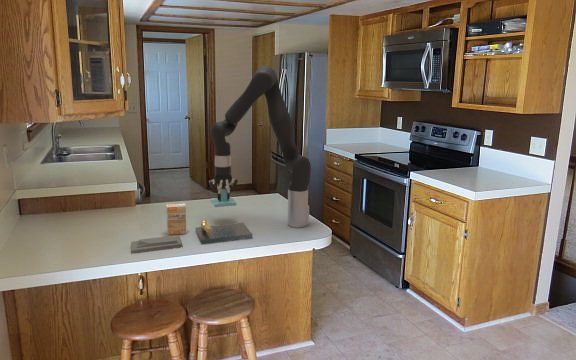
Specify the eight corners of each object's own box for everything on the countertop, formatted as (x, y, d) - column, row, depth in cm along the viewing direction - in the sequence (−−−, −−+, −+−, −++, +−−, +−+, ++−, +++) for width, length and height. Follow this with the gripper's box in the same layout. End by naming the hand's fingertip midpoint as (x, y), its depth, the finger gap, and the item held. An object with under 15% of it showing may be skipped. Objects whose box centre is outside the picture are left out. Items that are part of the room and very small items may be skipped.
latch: (200, 229, 206) (200, 220, 205) (205, 228, 207) (205, 219, 206) (207, 236, 197) (206, 227, 196) (212, 236, 198) (212, 226, 197)
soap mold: (130, 246, 194) (130, 238, 194) (179, 240, 201) (179, 232, 200) (131, 255, 185) (131, 246, 184) (183, 249, 192) (182, 241, 191)
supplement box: (167, 235, 205) (166, 207, 202) (167, 232, 209) (166, 203, 206) (186, 234, 207) (185, 205, 204) (186, 230, 212) (185, 202, 208)
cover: (231, 200, 227) (231, 187, 226) (236, 205, 218) (236, 191, 216) (210, 201, 224) (210, 188, 222) (215, 207, 215) (214, 193, 213)
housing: (243, 226, 217) (243, 222, 217) (252, 238, 203) (252, 234, 202) (195, 231, 210) (195, 227, 210) (201, 244, 195) (201, 239, 195)
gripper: (209, 167, 210) (210, 204, 214) (239, 165, 215) (240, 201, 219) (206, 163, 217) (207, 199, 221) (235, 162, 222) (236, 197, 226)
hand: (223, 200), depth 220 cm, fingers closed on cover, 3 cm apart
